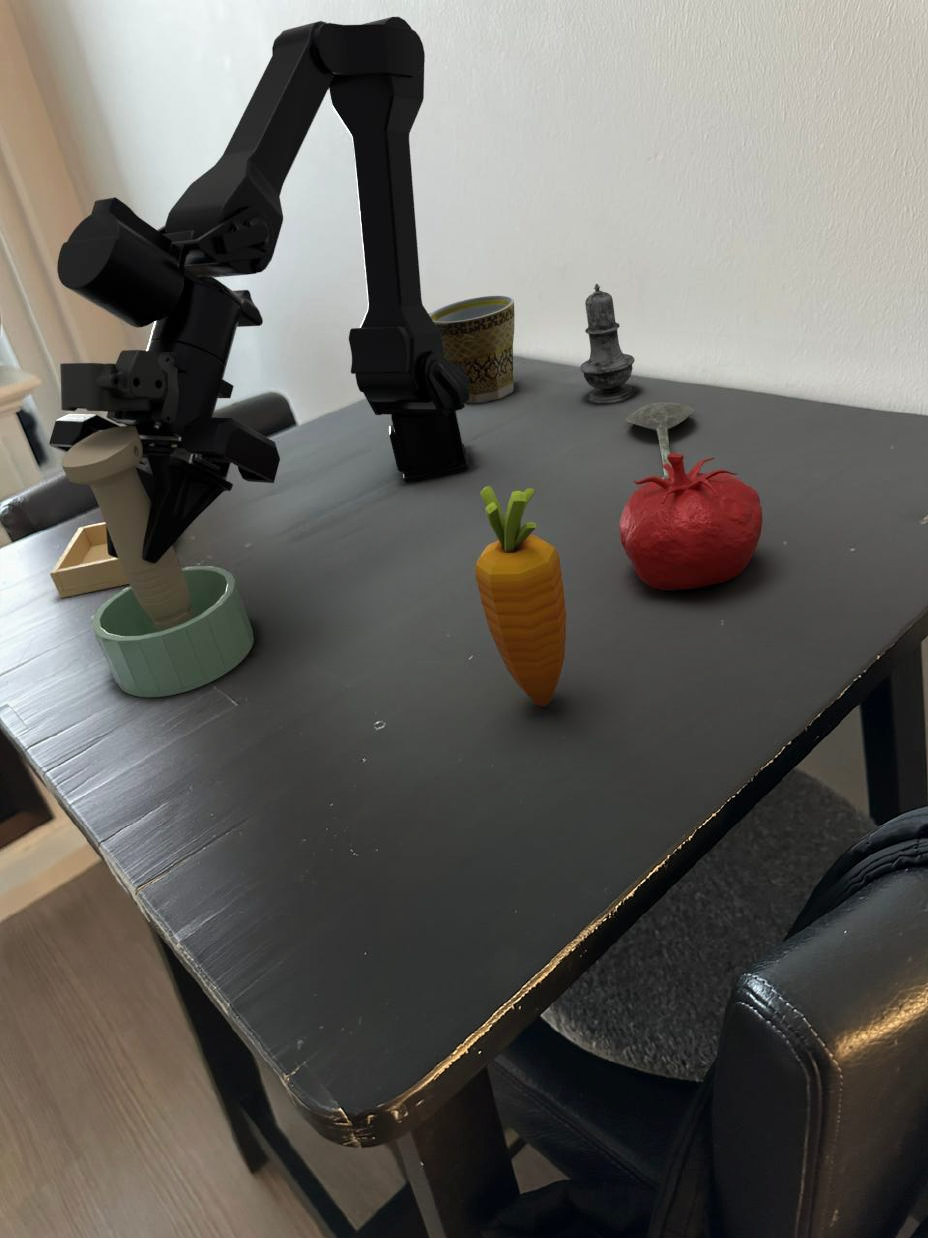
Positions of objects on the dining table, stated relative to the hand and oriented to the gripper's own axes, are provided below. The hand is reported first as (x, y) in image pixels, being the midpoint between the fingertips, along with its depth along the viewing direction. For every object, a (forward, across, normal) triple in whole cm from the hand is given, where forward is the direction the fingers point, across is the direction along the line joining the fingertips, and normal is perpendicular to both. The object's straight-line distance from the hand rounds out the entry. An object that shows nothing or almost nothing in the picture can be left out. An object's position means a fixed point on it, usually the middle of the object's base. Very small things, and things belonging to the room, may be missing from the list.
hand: (131, 559), depth 74 cm
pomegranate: (-8, +33, +22) cm, 41 cm away
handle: (+4, 0, +6) cm, 7 cm away
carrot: (+4, +30, +9) cm, 32 cm away
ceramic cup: (-33, -8, +48) cm, 59 cm away
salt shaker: (-33, +10, +47) cm, 59 cm away
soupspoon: (-22, +23, +36) cm, 48 cm away
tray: (-2, -20, +15) cm, 26 cm away
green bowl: (+6, 0, +7) cm, 9 cm away
